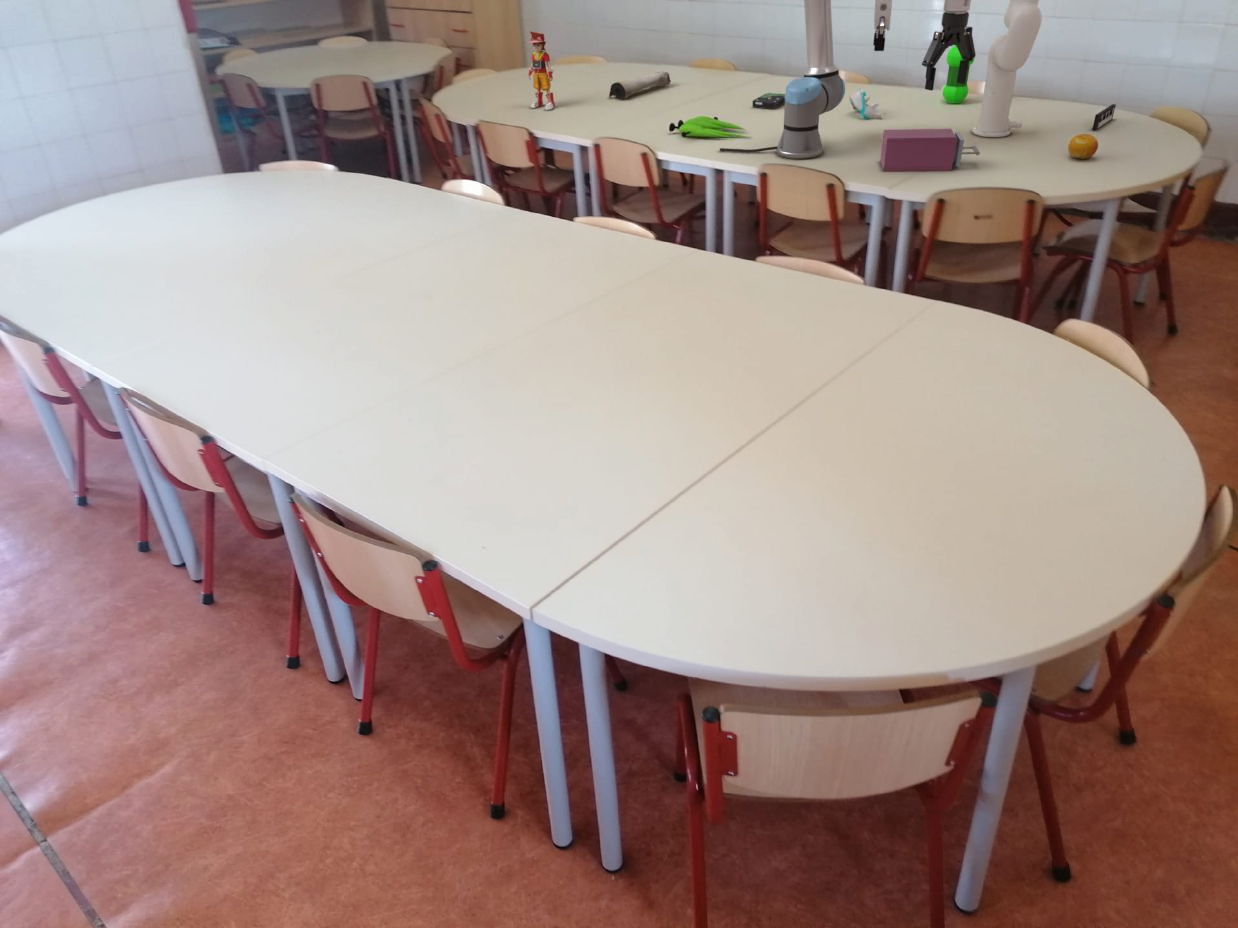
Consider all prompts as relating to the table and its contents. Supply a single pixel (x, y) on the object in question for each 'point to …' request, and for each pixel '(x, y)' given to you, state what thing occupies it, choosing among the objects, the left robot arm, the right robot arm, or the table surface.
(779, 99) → the disk drive
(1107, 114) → the midi keyboard
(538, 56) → the toy
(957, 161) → the drawer
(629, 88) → the rolled mat
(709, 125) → the toy
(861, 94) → the anatomical model
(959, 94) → the plastic bottle
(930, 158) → the cabinet
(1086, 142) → the fruit
